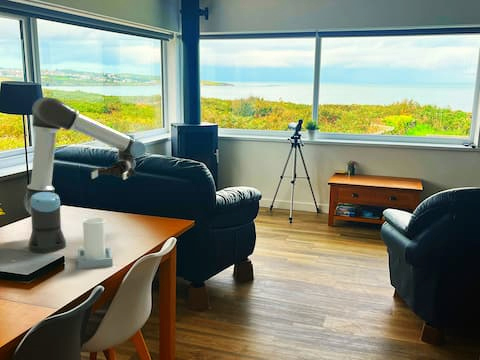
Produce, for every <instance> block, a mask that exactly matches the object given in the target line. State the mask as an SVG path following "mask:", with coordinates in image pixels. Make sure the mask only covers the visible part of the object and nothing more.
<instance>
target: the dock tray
mask: <svg viewBox="0 0 480 360" xmlns="http://www.w3.org/2000/svg"><path fill="white" fill-rule="evenodd" d="M113 264H114V263H113V255H112V250H111V248H110V247H105V258H101V259H89V260H84V249H80V250H77V269H90V268H101V267H113Z"/></svg>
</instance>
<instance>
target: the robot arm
mask: <svg viewBox="0 0 480 360" xmlns="http://www.w3.org/2000/svg"><path fill="white" fill-rule="evenodd" d="M31 114H32V127H33V128H34V130H35V137H34V147H33V159H32V168H31V169H32V171H31V182H30V183H29V184H27V186H26V194H25V195H24V198H23V206H24V208H25V211H26V212H28V213H29V215H30V216H31V234H30V237H29V240H28V243H27V244H28V250H29V251H30V250H31V252H33V251H37V252H36V253H50V252H56V251H60V250H62V249H65V248H66V246H67V245H66V244H67V242H66V238H65V236H64V233H63V230H62V226H61V225H62V220H61V200H60V199H61V198H60V196H59V194H57V193H55V187H54V186H53V185H52V181H53V172H54V161H55V152H56V150H55V149H56V142H57V133H58V132H59V131H60V130H61V129H64V130H66V131H71V130H73V131H75V132H77V133H79V134H82V135H84V136H87V137H88V138H91V139H93V140H95V141H97V142H98V141H99V142H100V143H102V144H105V145H107V146H109V147H111V148H114V149H116V150H117V152H118V155H117V156H118V160H117V161H115V162H113V163H112V165H111V166H108V167H106V166H102V167H98V168H91V169H90V176H91V179H92V180H93V179H95V178H98V177H99V176H103V175H104V176H105V175H109V176H111V175H113V176H115V177H117V178H122V180H126V179H128V178H131V177H134V178H135V177H136V176H137V173H136V172H137V171H136V170H135V168H136V162H137V161H136V159H135V158H141V157H143V156H144V155H145V154H146V152H147V146H146V144H145V143H144V142H143V141H141V140H138V139H136V138H134V137H135V136H134V134H133V133H130V132H129V133H123V132H120V131H118V130H116V129H113V128H111V127H109V126H107V125H105V124H102V123H101V122H99V121H96V120H95V119H91V118H89V117H87V116H85V115H83V114H81V113H79V110H78V109H75V108H73V107H71V106H69V105H68V104H66V103H65V102H62V101H61V100H60V99H58V98H53V97H49V96H44V97H41V98H38V99H36V101H35V102H33V105H32V108H31Z"/></svg>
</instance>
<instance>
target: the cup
mask: <svg viewBox="0 0 480 360" xmlns="http://www.w3.org/2000/svg"><path fill="white" fill-rule="evenodd" d="M105 221H106V220H105V219H104V218H103V217H102V218H101V217H90V218H85V219H83V220H82V226H83V228H82V230H83V233H82V234H83V250H84V260H89V259H101V258H105V248H106V225H105V224H106V222H105Z"/></svg>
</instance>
